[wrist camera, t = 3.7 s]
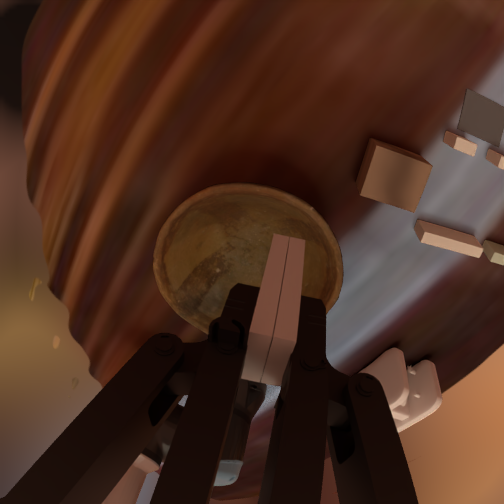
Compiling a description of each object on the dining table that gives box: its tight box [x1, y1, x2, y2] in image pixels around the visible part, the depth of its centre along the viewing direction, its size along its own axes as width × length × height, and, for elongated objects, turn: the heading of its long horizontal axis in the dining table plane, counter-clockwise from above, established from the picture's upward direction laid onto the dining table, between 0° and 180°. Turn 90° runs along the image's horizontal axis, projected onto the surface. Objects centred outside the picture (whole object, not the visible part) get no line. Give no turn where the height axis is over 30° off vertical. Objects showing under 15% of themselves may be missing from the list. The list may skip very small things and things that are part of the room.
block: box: [356, 138, 433, 213], centre depth 34 cm, size 7×6×4 cm
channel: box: [414, 131, 504, 258], centre depth 33 cm, size 10×14×4 cm
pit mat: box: [457, 89, 504, 147], centre depth 29 cm, size 7×6×1 cm
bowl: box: [153, 182, 343, 334], centre depth 40 cm, size 22×23×10 cm
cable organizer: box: [359, 348, 442, 433], centre depth 49 cm, size 15×11×12 cm
